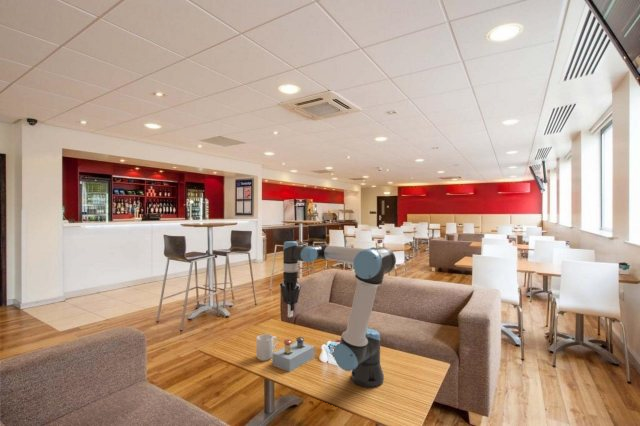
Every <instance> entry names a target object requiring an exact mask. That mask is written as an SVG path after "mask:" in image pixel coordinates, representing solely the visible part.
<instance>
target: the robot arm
mask: <svg viewBox="0 0 640 426" xmlns="http://www.w3.org/2000/svg"><path fill="white" fill-rule="evenodd" d="M282 253H283V254H282V255H283V263H282V265H283V266H282V268H283V275H282V277H283V282H282V283H279V286H280V288H281V292H282V293H281V295H282V299H283V303H285V304H286V310H287V318H291V317H294V311H295V304H298V303H299V302H298V301H299V296H300V292H301V289H302V285H300V284H299V283H298V278H299V272H298V271H299V270H298V269H299V267H298V265H299V264H298V263H299V262H306V263H313V262H315V261H316V260H325V261H335V262H342V263H347V264H348V263H349V264H352V268H353V270H354V273H355V275H354V278H355V279H356V280H357V282H356V287H355V292H354V296H353V299H352V300H353V301H352V305H351V308H350V314H349V317H348V321H347V327H346V330H345V331H343V332H342V333H341V338H340V342H339V343H337V344H336V345H335V346H334V347H333V358H334V360H335V362H336V363H335V364H336V365H338V367H339V368H341V370H343V371H346V372H350V371H351V381H352V382H353V383H354V384H355V385H358V386H361V387H365V388H375V386H376V387H379V386H381V385H382V384H383V383H384V382H383V381H384V380H385V376H384V372H383V369H382V365H381V333H380V332H379V331H378V330H376V329H372V328H368V327H369V324H370V319H371V316H372V315H371V314H372V311H373V306H374V302H375V298H376V294H377V293H376V292H377V291H378V290H377V289H378V287H379V286H381V285H382V284H383V281H384V280H383V279H384V276H385V274H386V275H387V274H388V273H390V272H392V270H393V269H394V268H395V267H396V263H397V258H396V255H395V253H394V251H392V250H391V249H390V248H388V247H384V246H383V247H382V246H381V247H370V248H360V247H359V248H358V247H348V246H339V245H329V244H327V243H325V244H323V243H322V244H317V245H315V244H314V245H299V243H298V241H295V240H294V241H292V240H291V241H290V240H289V241H284V242H283V249H282Z"/></svg>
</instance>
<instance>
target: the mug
mask: <svg viewBox="0 0 640 426" xmlns="http://www.w3.org/2000/svg"><path fill="white" fill-rule="evenodd" d="M277 338H278V337H277V336H273V335H272V334H269V333H268V334H267V333H265V334H261V335H258V336H256V358H257V359H258V360H259V361H263V362H266V361H269V360H271V359H272V355H273V353H274V350H275V349H276V347H277Z"/></svg>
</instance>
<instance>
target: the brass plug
mask: <svg viewBox="0 0 640 426" xmlns="http://www.w3.org/2000/svg"><path fill="white" fill-rule="evenodd" d="M283 344H284V348H285V354H286V355H290V354H291V344H293V343H292V339H284V340H283Z"/></svg>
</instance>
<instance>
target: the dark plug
mask: <svg viewBox="0 0 640 426" xmlns="http://www.w3.org/2000/svg"><path fill="white" fill-rule="evenodd" d="M304 341H305V338H304V337H302V336H300V337H299V336H298V337H296V341H295V342H297V348H299V349H301V348H303V343H304Z"/></svg>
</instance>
